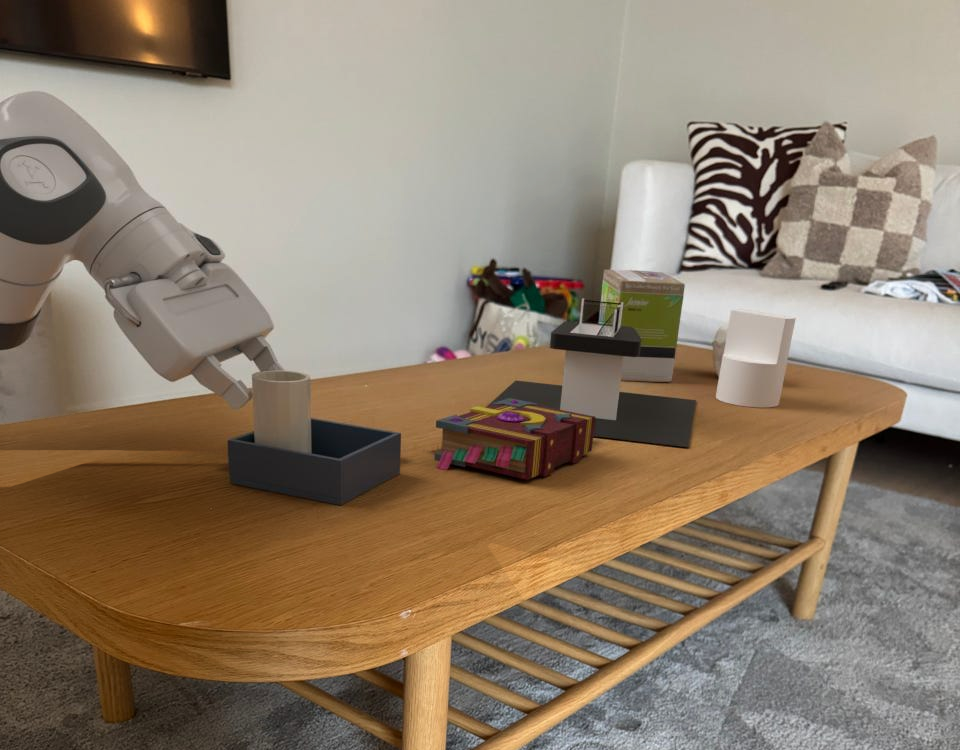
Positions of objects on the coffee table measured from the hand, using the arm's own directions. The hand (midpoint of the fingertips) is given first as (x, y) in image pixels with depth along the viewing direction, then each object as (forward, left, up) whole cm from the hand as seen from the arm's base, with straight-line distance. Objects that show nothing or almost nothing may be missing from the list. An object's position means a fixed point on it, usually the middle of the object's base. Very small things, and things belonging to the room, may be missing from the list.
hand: (264, 393), depth 87 cm
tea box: (+59, +56, -8) cm, 81 cm away
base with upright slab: (+70, +36, -8) cm, 79 cm away
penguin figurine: (+77, +51, -8) cm, 93 cm away
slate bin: (+5, 0, -8) cm, 9 cm away
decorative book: (+26, +6, -8) cm, 28 cm away
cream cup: (+2, 0, -7) cm, 8 cm away
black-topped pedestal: (+43, +29, -8) cm, 52 cm away
